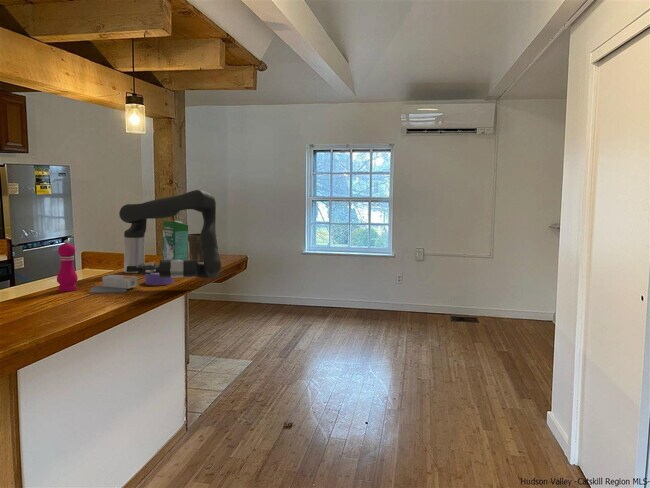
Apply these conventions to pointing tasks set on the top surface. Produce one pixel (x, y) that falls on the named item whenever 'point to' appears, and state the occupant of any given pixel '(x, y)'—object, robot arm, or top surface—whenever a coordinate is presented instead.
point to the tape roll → (157, 279)
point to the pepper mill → (66, 268)
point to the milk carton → (175, 240)
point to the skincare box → (119, 281)
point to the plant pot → (195, 247)
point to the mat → (107, 290)
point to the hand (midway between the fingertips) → (126, 268)
